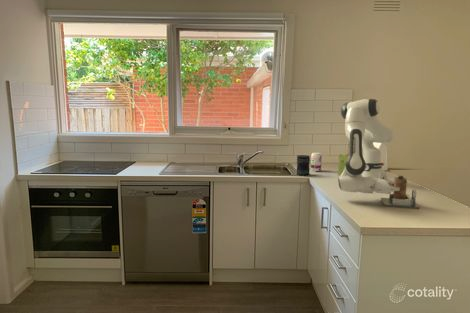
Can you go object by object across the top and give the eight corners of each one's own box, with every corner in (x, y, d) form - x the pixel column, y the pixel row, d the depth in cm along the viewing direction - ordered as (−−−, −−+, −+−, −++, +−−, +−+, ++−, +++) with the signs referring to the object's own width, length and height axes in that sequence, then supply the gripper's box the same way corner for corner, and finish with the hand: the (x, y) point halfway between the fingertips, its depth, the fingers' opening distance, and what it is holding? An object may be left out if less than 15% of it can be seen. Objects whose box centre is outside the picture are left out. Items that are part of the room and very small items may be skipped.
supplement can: (322, 170, 262) (322, 152, 260) (319, 172, 255) (320, 154, 253) (312, 169, 266) (313, 152, 264) (309, 171, 259) (310, 153, 257)
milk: (365, 169, 269) (367, 138, 266) (375, 167, 274) (377, 138, 270) (377, 171, 259) (379, 139, 255) (387, 170, 263) (389, 139, 260)
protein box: (358, 177, 237) (359, 156, 235) (337, 175, 245) (338, 155, 242) (360, 174, 246) (361, 154, 244) (340, 172, 254) (341, 153, 251)
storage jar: (294, 175, 244) (295, 156, 242) (298, 173, 252) (298, 154, 250) (307, 176, 239) (308, 157, 237) (310, 174, 248) (311, 155, 246)
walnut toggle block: (394, 202, 167) (396, 176, 165) (392, 200, 172) (394, 174, 170) (405, 203, 166) (407, 177, 164) (403, 201, 171) (405, 175, 169)
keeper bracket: (384, 206, 165) (385, 191, 164) (380, 199, 178) (381, 185, 177) (419, 209, 160) (420, 193, 159) (412, 201, 173) (413, 187, 172)
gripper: (372, 183, 162) (402, 185, 158) (367, 175, 181) (394, 177, 177) (371, 195, 163) (401, 197, 159) (367, 186, 182) (393, 188, 178)
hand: (397, 186), depth 168 cm, fingers open, 8 cm apart
